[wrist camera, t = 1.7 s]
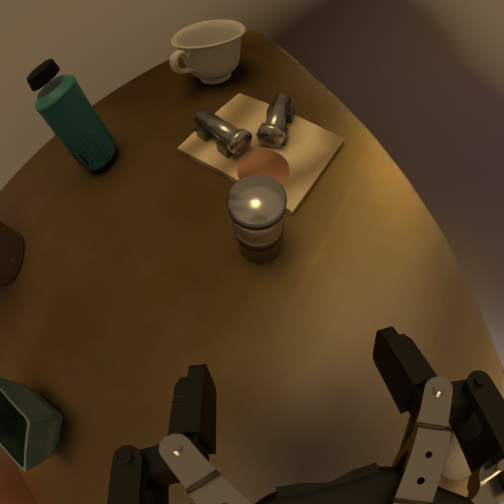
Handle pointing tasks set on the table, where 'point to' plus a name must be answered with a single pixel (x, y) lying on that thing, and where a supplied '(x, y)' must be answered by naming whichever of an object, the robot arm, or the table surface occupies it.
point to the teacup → (208, 50)
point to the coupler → (257, 216)
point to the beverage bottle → (71, 116)
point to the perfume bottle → (455, 462)
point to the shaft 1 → (222, 133)
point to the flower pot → (27, 424)
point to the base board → (268, 150)
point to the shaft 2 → (276, 122)
